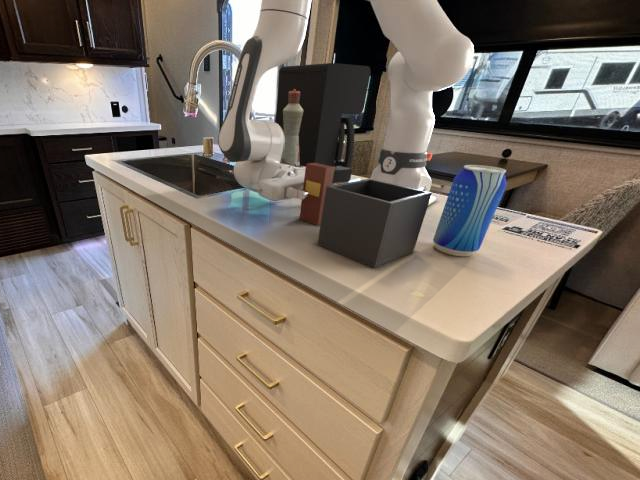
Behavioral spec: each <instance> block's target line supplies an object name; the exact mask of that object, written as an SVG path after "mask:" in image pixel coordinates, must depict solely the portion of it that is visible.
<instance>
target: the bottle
mask: <svg viewBox="0 0 640 480" xmlns="http://www.w3.org/2000/svg"><path fill="white" fill-rule="evenodd" d="M299 99H300V91H295V89H294V90H293V91H289V104H288V105H287V106H286V107H285V108H284V110H283V122H284V136H285V147H284V152H283V156H282V159H281V162H280V163H281V164H287V165H291V166H300V162H299V136H298V134H299V129H300V125H301V120H302V116H303V109H302V107H301V106H300V104H299Z"/></svg>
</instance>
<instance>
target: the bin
mask: <svg viewBox="0 0 640 480" xmlns="http://www.w3.org/2000/svg"><path fill="white" fill-rule="evenodd" d="M432 194H433V192H432V191H429V192H427V191H423V190H418V189H413V188H409V187H404V186H400V185H395V184H391V183H386V182H381V181H377V180H372V179H371V178H366V179H365V178H364V179H360V180H359V181H354V182H349V181H347V182H342V183H338V184H332V186H327V187H326V193H325V199H324V206H323V212H322V219H321V224H320V225H319V233H318V237H317V238H318V239H317V245H318V246H319V247H322V248H325V249H327V250H330V251H332V252H334V253H337V254H338V255H341V256H344V257H346V258H348V259H351V260H353V261H356V262H358V263H360V264H363V265H365V266H368V267H370V268H372V269H376V268H379V267H380V266H383V265H386V264H388V263H390V262H392V261H394V260H397V259H400V258H402V257H405V256H407V255H409V254H411V253H414V251H415V248H416V245H417V242H418V238H419V235H420V232H421V229H422V226H423V222H424V219H425V216H426V213H427V211H428V207H429V205H428V204H429V201H430V198H431V196H433V195H432Z"/></svg>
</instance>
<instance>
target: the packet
mask: <svg viewBox="0 0 640 480" xmlns="http://www.w3.org/2000/svg"><path fill="white" fill-rule="evenodd" d="M334 169H335V167H333V166H328V165H323V164H318V163H309V164H306V169H305V177H304V185H303V190H305V191H308V195H307V196H308V197H307V198H306V199H301V203H300V211H299V220H302V221H304V222H307V223H310V224H312V225H315V226H320V225H321V219H322V212H323V206H324V199H325V193H326V187H327V186H332V185H333V183H332V181H333V175H334Z"/></svg>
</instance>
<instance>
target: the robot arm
mask: <svg viewBox="0 0 640 480" xmlns="http://www.w3.org/2000/svg"><path fill="white" fill-rule="evenodd" d="M312 2H313V0H261V4H260V10H259V16H258V21H257V25H256V28H255V30H254V33H253V34H252V36H251V37H250V38H249V39H247V41H246V42H245V43H244V45H243V47H242V50H241V53H240V56H239V59H238V64H237V68H236V70H235V76H234V80H233V83H232V87H231V92H230V96H229V100H228V104H227V109H226V111H225V115H224V119H223V120H222V124H221V126H220V128H219V131H218V136H217V143H218V147H219V150H220V152H221V154H222V155H223V156H224V157H225V159H226V160H228V161H229V162H230V163H234V166H233V176H234V179H235V181H236V182H237V183H238V184H239V185H240V186H241V187H243V188H244V189H246V190H249V191H251V192H254V193H256V194H258V195H259V196H260V197H262V198H264V199H266V200H268V201H271V202H279V201H283V200H289V199H297V200H298V199H299V200H302V199H306V198H307V197H308V196H307V195H308V191H305V190H303V185H304V177H305V169H306V167H304V166H291V165H287V164H281V163H280V162H281V159H282V156H283V152H284V147H285V136H284V132H283V130H282V128H281V127H280V125H279V124H278V123H276V121H268V120H256V119H255V120H254V119H250V114H251V111H252V107H253V102H254V100H255V95H256V92H257V88H258V85H259V82H260V80H261V78H262V77H263V75H265V73H266V72H268V71H269V70H272V69H274V68H276V67H280V66H283V65H285V64H287V63H288V62H290V61H291V60H293V59H294V58H295V57H296V56H297V55H298V54H299V52H300V51H301V49H302V46H303V44H304V40H305V38H306V33H307V28H308V23H309V17H310V11H311V6H312ZM369 2H370V5H371V7H372V10H373V12H374V14H375V17H376V19H377V21H378V24H379V26H380V29H381V31H382V34H383V35H384V37H385V38H387V39H388V40H389V41H390V42H391V43H392V44H393V45H394V46H395V48H396V49H397V50H398V51H397V52H396V53H395V54H394V55H393V57H391V60H390V62H389V64H388V67H387V78H388V80H389V84H390V103H389V105H390V106H389V118H388V123H387V127H386V133H385V137H384V142H383V147H382V148H381V149H380V152H379V154H378V161H377V162H378V165H377V166H376V167H374V169H373V170H372V173H371V176H370V179H372V180H377V181H381V182H386V183H391V184H395V185H400V186H404V187H409V188H413V189H418V190H423V191H427V192H431V191H430V190H431V187H432V184H433V183H432V181H433V180H432V179H431V176H430V175H429V173H428V171H427V169H426V166H427V161H429V162H430V161H431V159H432V157H433V153H432V152H427V151H428V150H427V149H428V147H429V143H430V140H431V136H432V133H433V129H434V126H435V121H436V119H435V114H434V112H433V92H440V91H442V90H446V89H447V88H451V87H453V86H455V85H456V84H458V83H460V81H462V80H463V79H464V78H465V77H466V75H468V72H469V71H470V69H471V67H472V65H473V61H474V57H475V49H474V44H473V42H472V41H471V39H470V38H469V37H468V36H466V35H464V34H463V33H461V32H460V31H459V30H458V29H457V28H456V27H455V26H454V24H453V23H452V21H451V20H450V18H449V17H448V16H447V14H446V12H445V11H444V10H443V8H442V6H441V5H440V3H439V2H438V0H369ZM359 180H361V178H356V179H350V181H348V182H354V181H359ZM436 200H437V197H435V196H433V195H431V198H430V201H429V204H428V206H430V205H431V204H434V203H435V202H436Z"/></svg>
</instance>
